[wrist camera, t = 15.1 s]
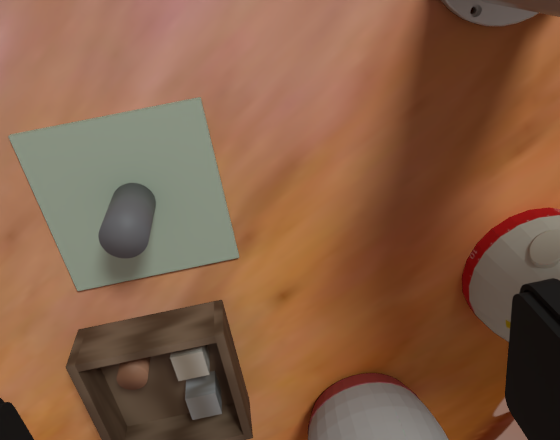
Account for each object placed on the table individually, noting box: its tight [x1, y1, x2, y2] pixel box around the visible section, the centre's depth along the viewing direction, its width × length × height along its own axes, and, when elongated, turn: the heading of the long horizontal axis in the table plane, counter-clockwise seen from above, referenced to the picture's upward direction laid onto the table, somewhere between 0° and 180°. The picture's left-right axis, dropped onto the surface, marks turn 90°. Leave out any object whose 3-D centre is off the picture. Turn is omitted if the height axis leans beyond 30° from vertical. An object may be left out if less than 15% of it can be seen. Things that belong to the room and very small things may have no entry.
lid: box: [8, 97, 239, 291], centre depth 41 cm, size 15×15×7 cm
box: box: [66, 300, 253, 440], centre depth 50 cm, size 14×14×5 cm
